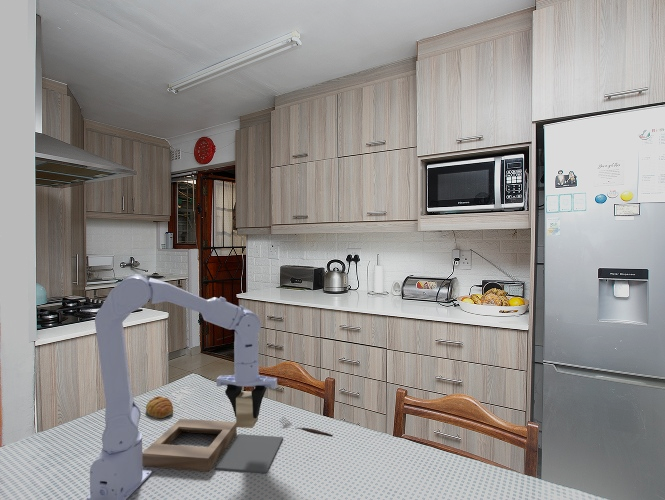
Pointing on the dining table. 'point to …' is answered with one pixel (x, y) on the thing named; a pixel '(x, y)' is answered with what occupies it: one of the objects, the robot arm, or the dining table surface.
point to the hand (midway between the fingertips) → (247, 415)
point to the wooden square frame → (189, 456)
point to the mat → (250, 453)
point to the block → (245, 410)
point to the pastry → (159, 407)
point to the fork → (305, 428)
